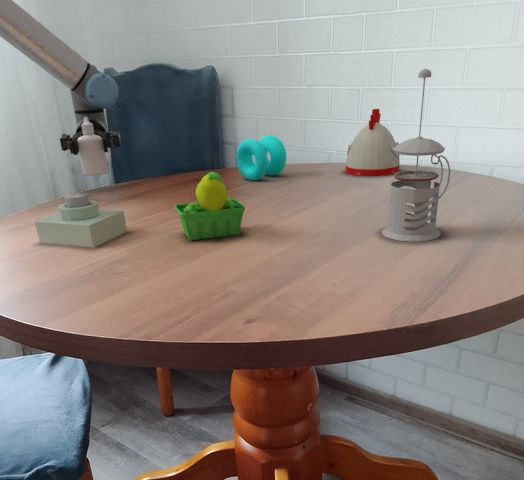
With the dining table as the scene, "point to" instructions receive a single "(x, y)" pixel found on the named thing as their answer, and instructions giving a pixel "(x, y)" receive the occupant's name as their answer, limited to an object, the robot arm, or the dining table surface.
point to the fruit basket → (211, 211)
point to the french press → (415, 190)
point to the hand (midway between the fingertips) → (89, 146)
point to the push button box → (81, 226)
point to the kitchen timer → (372, 150)
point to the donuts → (261, 157)
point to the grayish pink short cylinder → (76, 200)
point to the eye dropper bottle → (91, 151)
